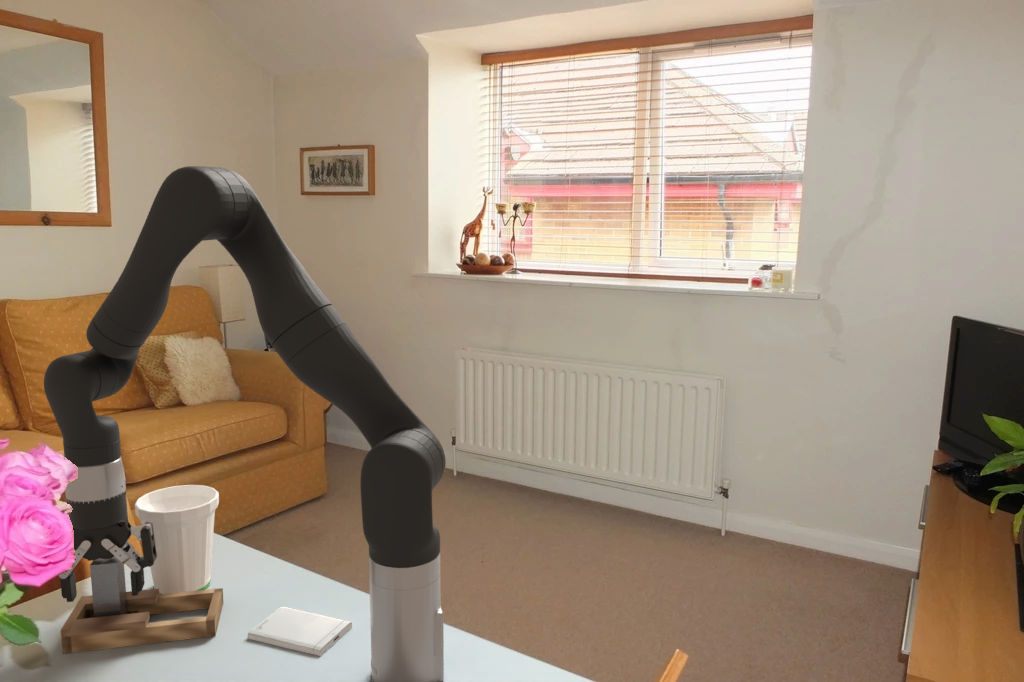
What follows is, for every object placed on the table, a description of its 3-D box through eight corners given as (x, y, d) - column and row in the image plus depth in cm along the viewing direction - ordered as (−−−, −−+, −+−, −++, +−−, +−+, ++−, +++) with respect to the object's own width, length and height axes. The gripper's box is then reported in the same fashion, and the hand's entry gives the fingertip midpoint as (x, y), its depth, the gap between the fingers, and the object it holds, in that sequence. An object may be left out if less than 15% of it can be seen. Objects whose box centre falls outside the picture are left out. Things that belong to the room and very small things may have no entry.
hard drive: (247, 631, 110) (320, 648, 106) (282, 604, 117) (352, 619, 113) (247, 642, 110) (320, 659, 106) (283, 614, 118) (352, 630, 113)
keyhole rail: (223, 602, 120) (222, 582, 119) (215, 635, 110) (214, 613, 110) (83, 617, 115) (81, 596, 114) (62, 653, 106) (60, 630, 105)
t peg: (139, 617, 115) (134, 548, 113) (129, 638, 110) (124, 565, 108) (95, 622, 114) (90, 551, 112) (83, 643, 108) (77, 570, 106)
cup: (127, 587, 124) (120, 499, 122) (199, 562, 134) (195, 479, 131) (163, 613, 116) (157, 519, 114) (238, 584, 126) (233, 496, 123)
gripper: (30, 503, 103) (40, 615, 105) (144, 495, 106) (152, 603, 109) (49, 484, 110) (58, 589, 112) (155, 477, 113) (162, 579, 116)
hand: (104, 596), depth 110 cm, fingers open, 8 cm apart
